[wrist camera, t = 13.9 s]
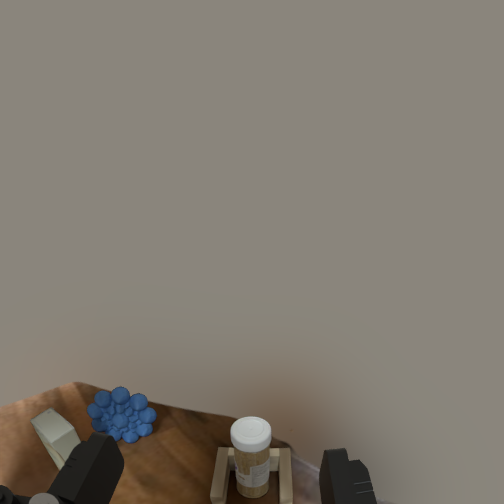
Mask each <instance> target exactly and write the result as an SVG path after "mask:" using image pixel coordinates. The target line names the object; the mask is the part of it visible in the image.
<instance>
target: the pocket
mask: <svg viewBox="0 0 504 504" xmlns="http://www.w3.org/2000/svg"><path fill="white" fill-rule="evenodd" d="M269 452H270V468H269V471H279V504H292V500H293V492H292V474H291V456H290V448H270V451H269ZM230 470H233V471H235V460H234V448H226V447H218V453H217V458H216V464H215V470H214V476H213V482H212V487H211V493H210V498H211V502H212V504H226V499H227V491H228V483H229V475H230Z"/></svg>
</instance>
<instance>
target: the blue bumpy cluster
mask: <svg viewBox="0 0 504 504" xmlns="http://www.w3.org/2000/svg"><path fill="white" fill-rule="evenodd" d="M94 400H95V403H91V404H90V405H89V406H88V408H87V413H88V415H89V416H90V417H91V418H92V419H93V420H92V423H91V424H92V427H93V429H94V430H95V431H97V432H105V434H107V435H111V436H113V437H114V439H115V441H118V440H120V439H121V437H122V438H123V439H124V441H125V442H127V443H135V442H136V441H137V440H138V438H139V436H142V437H146V436H149V435H150V434H151V433H152V430H153V428H152V425H151V423H153V422H154V421H155V420H156V417H157V415H156V411H155V410H154V409H153V408H150V407H147V405H148V401H147V398H146V397H145V395H143V394H140V393H138V394H134V395H132V396H131V397H130V394H129V391H128V390H127V389H126V388H124V387H117V388H115V389H114V390H112V393H111V394H110V393H109V392H107V391H104V390H103V391H99V392H98V393H96V394H95V397H94Z"/></svg>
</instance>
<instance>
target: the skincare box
mask: <svg viewBox="0 0 504 504" xmlns="http://www.w3.org/2000/svg"><path fill="white" fill-rule="evenodd" d="M30 421H31V423H32V425H33V427H34V428H35V430H36V432H37V434H38V436H39V437H40V439H41V441H42V443H43V444H44V446H45V448H46V449H47V451H48V453H49V454H50V456H51V458H52V459H53V461H54V462H55V464H56V465H57V467H58V469H59V470H61V468H62V466H64V463H65V461H66V460H67V458H69V457H68V456H69V455H70V453H71V452H72V450H73V448H74V447H75V446H77V445H78V444H79V443H81V441H80V439H79V437H78V435H77V433H76V431H75V428H74V427H73V426H72V425H71V424H70V423H69V422H68V421H66V420H65V419H64V418H63V417H62V416H61V415H60V414H58V413H57V412H56V411H55V410H54V409H53V408H52V407H51V408H49V409H47V410H46V411H44V412H42V413H41V414H39V415H37V416H36V417H34V418H32V419H31V420H30Z"/></svg>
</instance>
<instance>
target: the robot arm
mask: <svg viewBox="0 0 504 504" xmlns="http://www.w3.org/2000/svg"><path fill="white" fill-rule="evenodd" d="M68 457H69V458H67V460H66V461H65V463H64V466H62V468H61V470H60V471H59V473H58V475H57V476H56V478H55V480H54V482H53V483H52V485H51V487H50V488H49V490H48V491H47V492H46V493H39V494H36V495H34V496H33V497H25V496H19V495H14V494H13V493H12V492H11V491H10V490H9V489H8V488H7V487H5V486H3V485H0V504H109V502H110V500H111V498H112V495H113V493H114V491H115V488H116V486H117V484H118V481H119V479H120V477H121V474H122V472H123V469H124V459H123V456H122V454H121V452H120V450H119V448H118V446H117V444H116V441H115V439H114V437H113V436H111V435H107V434H103V433H98V432H94V433H92V434H91V436H90V438H89V439H88V441H87V442H86V441H82V442H81V443H79V444H78V445H77V446H75V447H74V448H73V450H72V452H71V453H70V455H69V456H68ZM319 485H320V493H321V501H322V504H377V502H376V498H375V495H374V492H373V487H372V483H371V480H370V476H369V472H368V469H367V468H366V467H365V465H364V464H363V463H362V462H361V461H360V460H353V461H349V460H348V455H347V451H346V449H345V448H341V449H331V450H325V451H324V455H323V459H322V464H321V468H320V473H319Z"/></svg>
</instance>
